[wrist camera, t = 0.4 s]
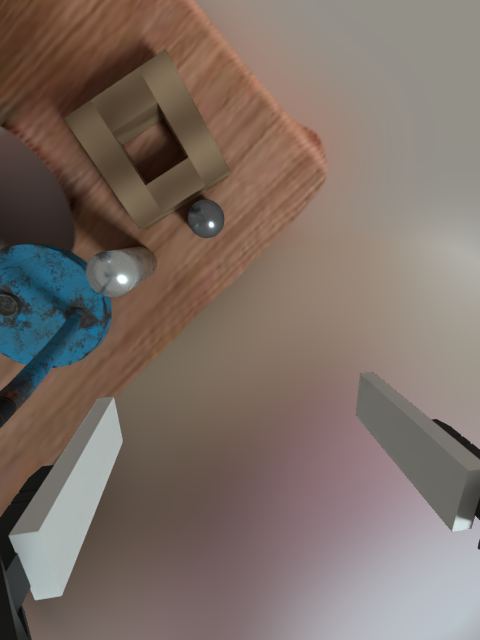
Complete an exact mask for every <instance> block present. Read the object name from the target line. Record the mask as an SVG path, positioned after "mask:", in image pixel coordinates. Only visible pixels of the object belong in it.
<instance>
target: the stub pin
mask: <svg viewBox="0 0 480 640" xmlns="http://www.w3.org/2000/svg"><path fill="white" fill-rule="evenodd" d="M188 223H189V226H190V228H191V229H192V231H193V232H194V233H195V234H197V235H198V236H200V237H204V238H210V237H213V236H215V235H217V234H218V233H219V232H220V231H221V230H222V228H223V225H224V214H223V211H222V209H221V208H220V206H219V205H218V204H217V203H215V202H214V201H211V200H206V199H205V200H200V201H197V202H196V203H194V204H193V205H192V207H191V208H190V210H189V213H188Z"/></svg>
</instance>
